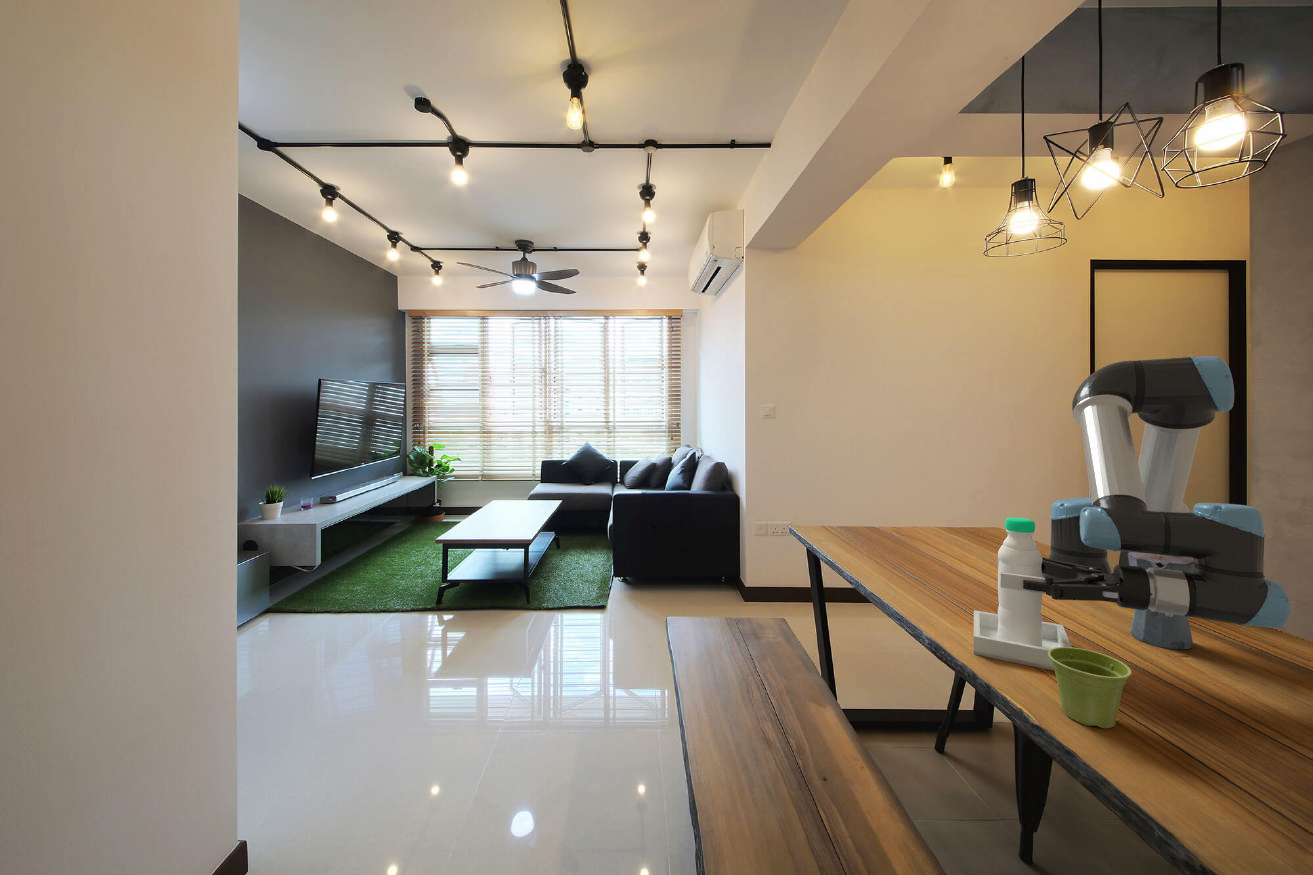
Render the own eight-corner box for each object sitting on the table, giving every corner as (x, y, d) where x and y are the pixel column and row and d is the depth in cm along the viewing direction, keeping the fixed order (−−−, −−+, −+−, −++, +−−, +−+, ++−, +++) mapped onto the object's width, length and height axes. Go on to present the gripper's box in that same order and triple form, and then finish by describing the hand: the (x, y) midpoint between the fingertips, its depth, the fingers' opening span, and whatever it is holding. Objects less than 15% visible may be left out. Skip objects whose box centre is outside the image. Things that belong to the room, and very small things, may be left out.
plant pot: (1109, 744, 67) (1110, 683, 67) (1034, 708, 76) (1034, 653, 76) (1144, 726, 71) (1145, 668, 71) (1068, 693, 80) (1069, 642, 79)
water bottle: (1050, 654, 91) (1051, 523, 91) (1008, 651, 93) (1009, 522, 92) (1029, 638, 98) (1030, 516, 98) (990, 635, 100) (991, 515, 99)
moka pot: (1127, 645, 96) (1128, 545, 95) (1125, 621, 107) (1126, 531, 106) (1199, 660, 89) (1201, 553, 89) (1189, 633, 101) (1190, 537, 100)
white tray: (973, 625, 106) (973, 610, 106) (1062, 642, 98) (1062, 624, 98) (973, 653, 93) (973, 636, 93) (1075, 675, 85) (1075, 655, 85)
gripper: (1169, 636, 75) (1001, 609, 87) (1127, 588, 96) (996, 572, 107) (1170, 588, 75) (1002, 568, 86) (1128, 551, 96) (996, 538, 107)
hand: (998, 570), depth 97 cm, fingers open, 13 cm apart
